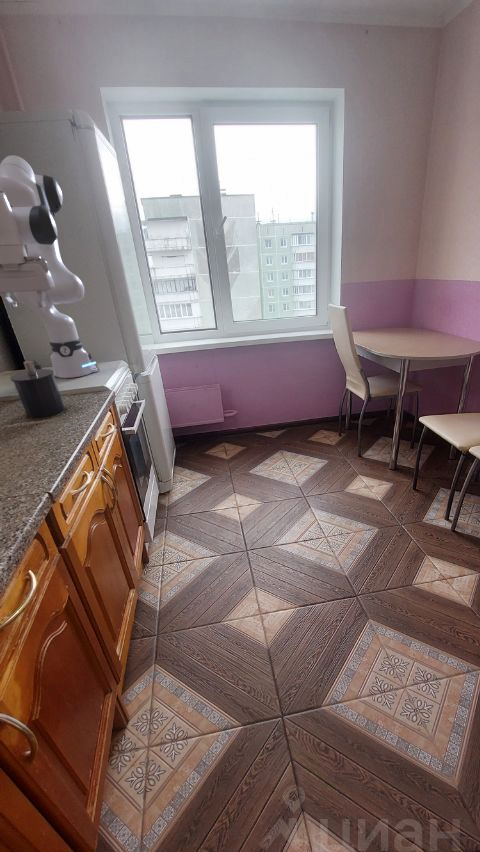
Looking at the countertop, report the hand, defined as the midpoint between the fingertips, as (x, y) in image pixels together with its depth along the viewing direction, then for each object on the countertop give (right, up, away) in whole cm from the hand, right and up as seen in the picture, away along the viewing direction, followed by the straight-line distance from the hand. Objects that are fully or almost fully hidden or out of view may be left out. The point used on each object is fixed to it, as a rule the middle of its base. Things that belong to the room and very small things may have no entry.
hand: (28, 307), depth 120 cm
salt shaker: (-11, -20, +28) cm, 36 cm away
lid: (+1, -22, 0) cm, 22 cm away
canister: (+2, -32, +7) cm, 33 cm away
